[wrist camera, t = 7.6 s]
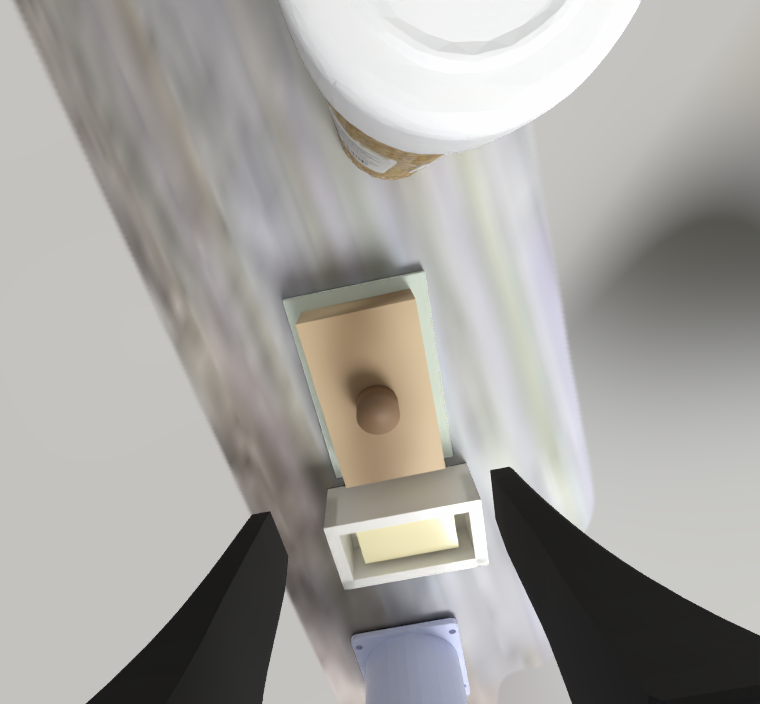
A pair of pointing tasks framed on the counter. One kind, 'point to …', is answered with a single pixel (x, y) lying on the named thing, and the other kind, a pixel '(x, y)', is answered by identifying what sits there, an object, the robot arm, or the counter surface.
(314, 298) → the mat
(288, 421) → the counter surface
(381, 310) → the lid
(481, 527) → the butter dish
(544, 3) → the sprinkles bottle
